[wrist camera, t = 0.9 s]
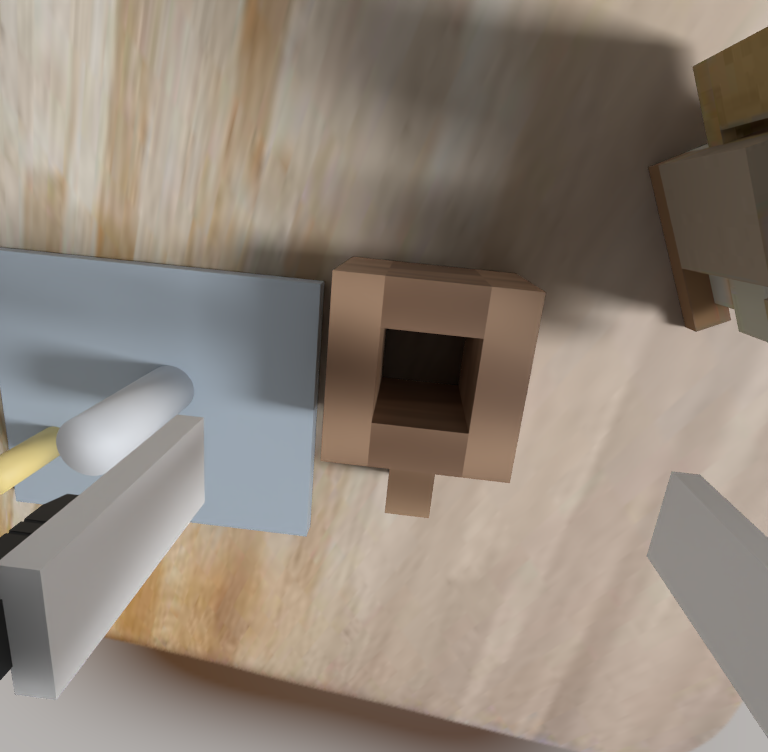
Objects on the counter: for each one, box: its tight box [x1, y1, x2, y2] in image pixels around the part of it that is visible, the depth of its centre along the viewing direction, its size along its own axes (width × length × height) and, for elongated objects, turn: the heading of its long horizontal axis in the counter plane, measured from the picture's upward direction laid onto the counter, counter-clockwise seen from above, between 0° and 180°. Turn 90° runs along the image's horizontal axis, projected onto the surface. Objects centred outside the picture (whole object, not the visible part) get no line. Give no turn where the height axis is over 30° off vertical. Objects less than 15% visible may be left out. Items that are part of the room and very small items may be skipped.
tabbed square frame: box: [321, 257, 546, 518], centre depth 27 cm, size 13×9×7 cm
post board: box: [0, 247, 324, 536], centre depth 27 cm, size 16×19×9 cm
